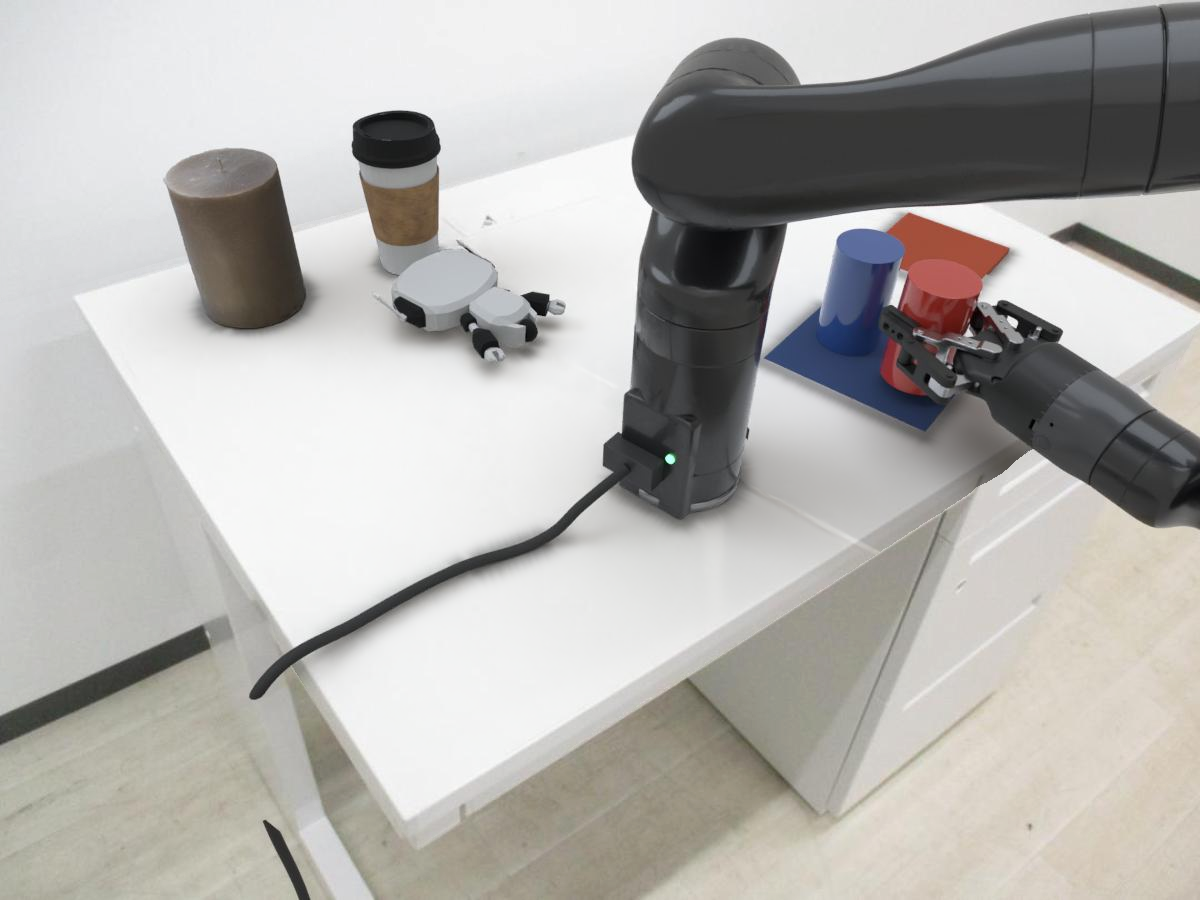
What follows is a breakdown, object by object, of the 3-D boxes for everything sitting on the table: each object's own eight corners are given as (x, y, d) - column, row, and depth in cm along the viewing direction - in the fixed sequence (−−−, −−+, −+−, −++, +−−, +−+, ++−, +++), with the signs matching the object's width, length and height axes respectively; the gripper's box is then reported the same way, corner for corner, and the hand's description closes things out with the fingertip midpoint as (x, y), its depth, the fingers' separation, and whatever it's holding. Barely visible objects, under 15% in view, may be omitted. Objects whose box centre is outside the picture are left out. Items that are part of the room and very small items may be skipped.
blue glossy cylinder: (861, 364, 87) (886, 271, 81) (804, 339, 90) (824, 247, 83) (889, 335, 91) (916, 243, 84) (833, 312, 94) (855, 221, 87)
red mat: (966, 298, 97) (967, 294, 97) (860, 258, 102) (861, 253, 102) (1008, 252, 104) (1010, 247, 104) (907, 216, 110) (908, 212, 109)
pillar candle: (318, 313, 92) (288, 169, 82) (215, 340, 88) (170, 192, 78) (291, 265, 98) (260, 125, 88) (193, 288, 94) (149, 145, 84)
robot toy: (572, 328, 93) (454, 268, 98) (575, 290, 89) (453, 230, 95) (493, 392, 85) (370, 324, 90) (494, 353, 82) (366, 285, 87)
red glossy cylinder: (931, 404, 81) (966, 307, 75) (867, 376, 84) (895, 279, 77) (958, 372, 85) (994, 276, 78) (897, 346, 87) (926, 251, 81)
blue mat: (923, 436, 81) (925, 431, 81) (762, 362, 88) (763, 357, 88) (976, 370, 88) (978, 365, 88) (824, 307, 95) (825, 302, 95)
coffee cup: (351, 266, 98) (328, 126, 88) (405, 232, 103) (389, 96, 93) (415, 292, 95) (398, 150, 85) (466, 255, 100) (456, 117, 90)
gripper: (1151, 346, 72) (980, 245, 82) (1026, 406, 66) (858, 289, 76) (1112, 420, 77) (955, 317, 87) (992, 482, 71) (839, 363, 81)
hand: (911, 304), depth 82 cm, fingers closed on red glossy cylinder, 6 cm apart
